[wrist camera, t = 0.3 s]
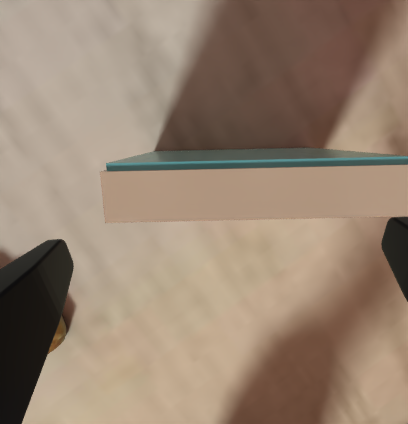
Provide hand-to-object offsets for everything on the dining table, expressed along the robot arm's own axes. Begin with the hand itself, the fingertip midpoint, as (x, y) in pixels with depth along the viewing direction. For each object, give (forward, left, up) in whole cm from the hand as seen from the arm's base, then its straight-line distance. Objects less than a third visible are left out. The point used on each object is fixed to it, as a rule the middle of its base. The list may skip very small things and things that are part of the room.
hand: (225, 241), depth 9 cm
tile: (+1, -1, -15) cm, 16 cm away
